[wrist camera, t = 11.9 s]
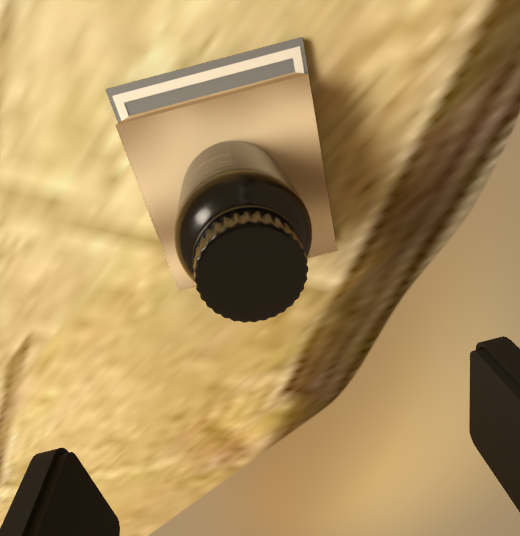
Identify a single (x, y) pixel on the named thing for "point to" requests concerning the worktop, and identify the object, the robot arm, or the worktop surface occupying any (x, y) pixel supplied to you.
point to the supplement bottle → (242, 232)
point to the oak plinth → (229, 129)
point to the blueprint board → (208, 78)
